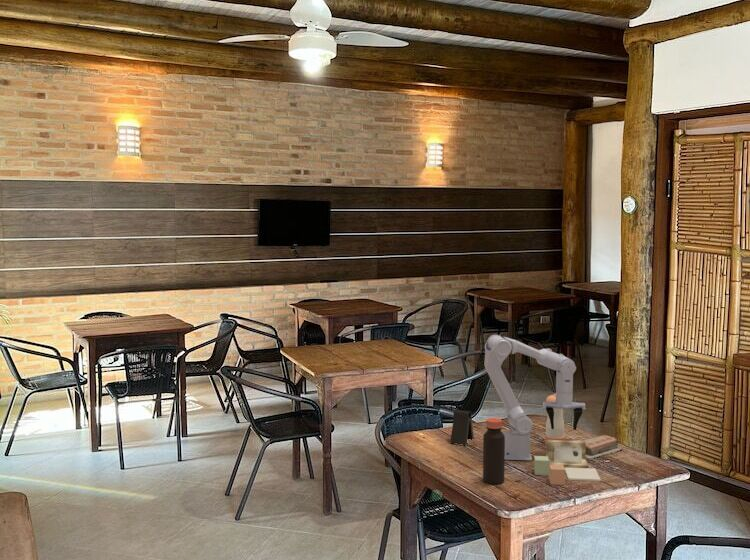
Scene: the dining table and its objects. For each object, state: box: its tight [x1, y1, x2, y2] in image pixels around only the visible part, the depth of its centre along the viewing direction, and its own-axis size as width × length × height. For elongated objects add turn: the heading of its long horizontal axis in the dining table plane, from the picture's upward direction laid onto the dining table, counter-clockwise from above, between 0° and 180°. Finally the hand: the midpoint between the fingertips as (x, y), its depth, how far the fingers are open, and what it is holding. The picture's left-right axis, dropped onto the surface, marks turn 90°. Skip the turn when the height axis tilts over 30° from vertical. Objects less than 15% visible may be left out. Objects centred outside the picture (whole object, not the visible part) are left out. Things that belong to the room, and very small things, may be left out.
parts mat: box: [564, 467, 602, 482], centre depth 243 cm, size 10×10×1 cm
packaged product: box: [582, 434, 624, 461], centre depth 266 cm, size 18×5×10 cm
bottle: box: [482, 417, 506, 485], centre depth 237 cm, size 7×7×20 cm
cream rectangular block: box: [553, 444, 582, 463], centre depth 253 cm, size 9×5×5 cm, turn 83°
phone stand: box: [449, 408, 475, 446], centre depth 278 cm, size 9×6×12 cm, turn 151°
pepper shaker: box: [544, 393, 566, 446], centre depth 273 cm, size 7×7×19 cm
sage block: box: [533, 455, 549, 476], centre depth 245 cm, size 4×4×5 cm
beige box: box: [545, 440, 589, 468], centre depth 253 cm, size 13×8×7 cm, turn 83°
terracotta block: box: [548, 464, 566, 486], centre depth 237 cm, size 4×4×5 cm
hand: (563, 428), depth 262 cm, fingers open, 7 cm apart
